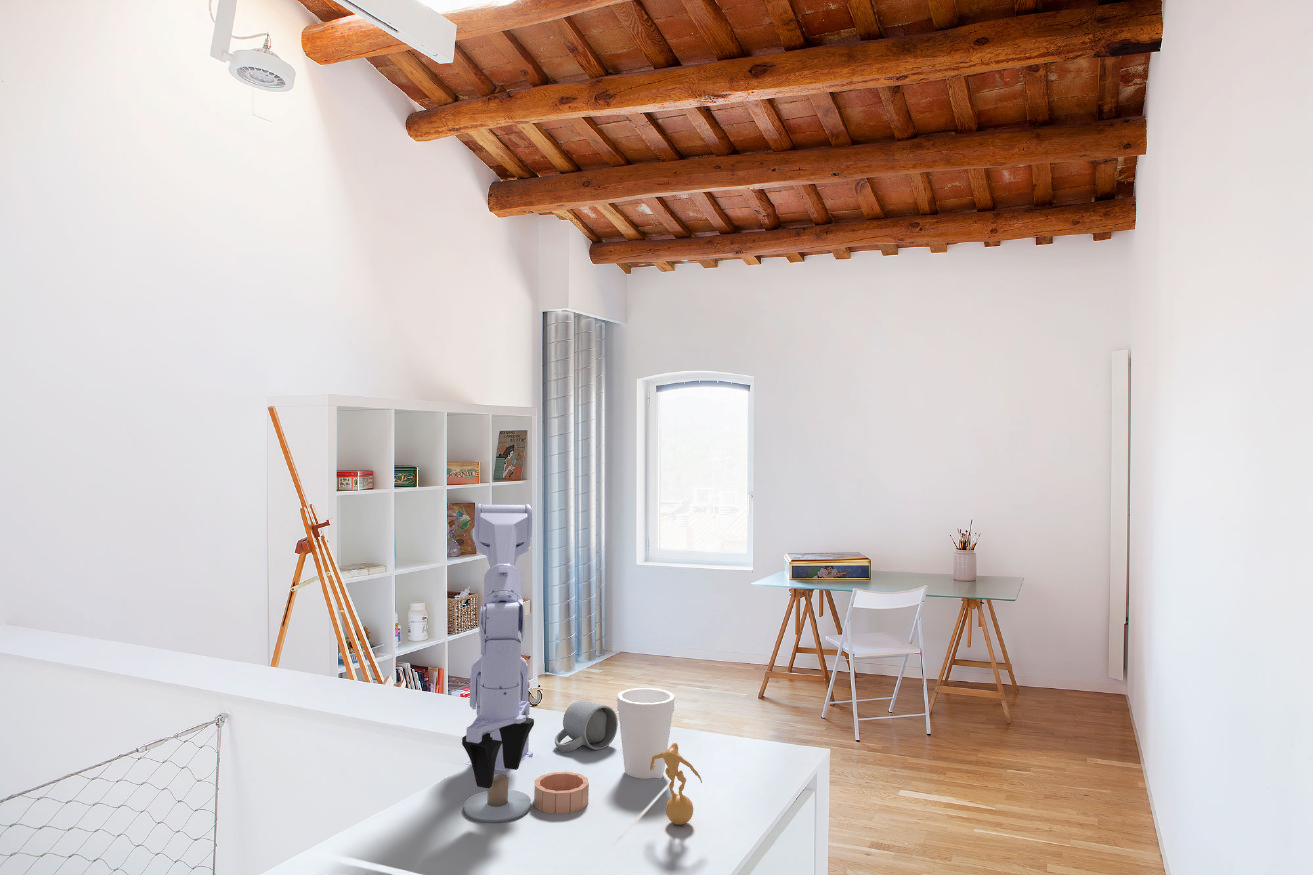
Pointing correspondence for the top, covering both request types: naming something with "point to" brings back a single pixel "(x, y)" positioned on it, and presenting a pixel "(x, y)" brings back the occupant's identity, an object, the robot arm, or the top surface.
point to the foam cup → (644, 729)
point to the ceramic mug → (587, 726)
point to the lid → (497, 803)
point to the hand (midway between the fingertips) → (498, 777)
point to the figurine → (679, 805)
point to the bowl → (561, 792)
